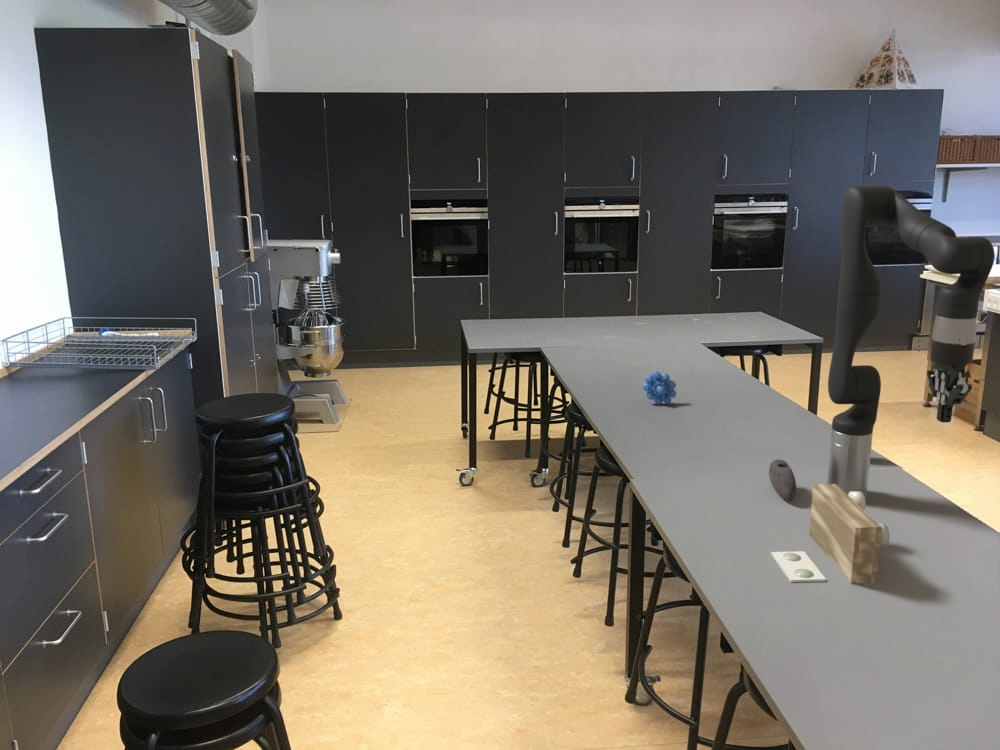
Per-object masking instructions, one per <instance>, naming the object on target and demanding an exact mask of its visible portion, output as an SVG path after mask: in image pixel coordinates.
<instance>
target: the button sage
mask: <svg viewBox="0 0 1000 750" xmlns="http://www.w3.org/2000/svg"><path fill="white" fill-rule="evenodd" d="M877 523H878V524H879V525H880V526H881V527H882V528H881V538H880V546H888V545H889V543H890V531H889V528H888V525H887V524H886V523H884V522H877Z"/></svg>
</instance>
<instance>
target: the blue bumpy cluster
mask: <svg viewBox="0 0 1000 750" xmlns="http://www.w3.org/2000/svg"><path fill="white" fill-rule="evenodd" d="M651 374H652V375H651ZM651 374H647V375H645V378H644V380H645V383H643V384H642V389H643V390H644V392H646V394H645V396H646V398H647V399H648V400H650V401H653V402H654V403H655V404H656V405H659V406H660V405H662V404H663V403H664V404H667V405H669V404H671V403H672V399H673V398H675V397H677V392H676V387H677V385H676V382H675V381H674V380H671V377H670V375H669V374H668V373H665V372H663V373H662V374H661V373H660V371H657V370H655V371H653V372H652V373H651Z"/></svg>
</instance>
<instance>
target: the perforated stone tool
mask: <svg viewBox="0 0 1000 750" xmlns="http://www.w3.org/2000/svg"><path fill="white" fill-rule="evenodd" d="M768 477H769V481H770V483H771V486H772V488H773V489H774V490H775V492H776V493H777V494H778V496H780V497H781V498H782V499H783V500H784V501H786V502H792V501H793V500H794V499H795V497H796V493H797V482H796V477H795V474H794V472H793V469H792V467H791V466H790V465H789V463H788V462H787V461H785V460H783V459H774V460H772V461H771V463H770V465H769V469H768Z"/></svg>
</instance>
